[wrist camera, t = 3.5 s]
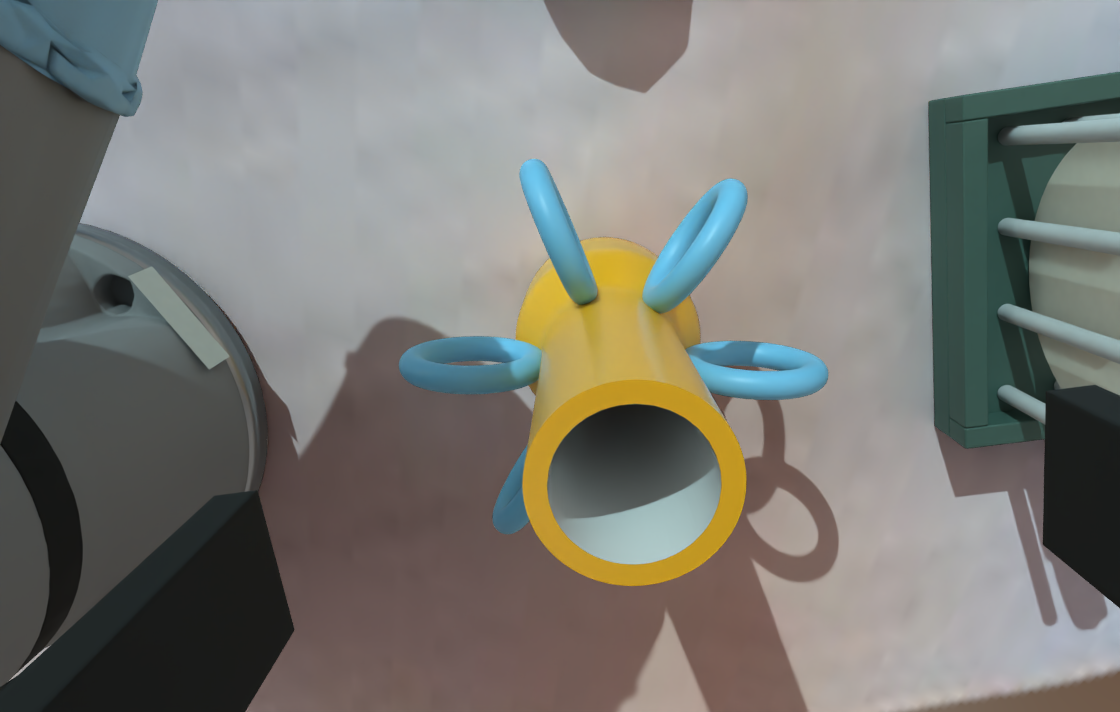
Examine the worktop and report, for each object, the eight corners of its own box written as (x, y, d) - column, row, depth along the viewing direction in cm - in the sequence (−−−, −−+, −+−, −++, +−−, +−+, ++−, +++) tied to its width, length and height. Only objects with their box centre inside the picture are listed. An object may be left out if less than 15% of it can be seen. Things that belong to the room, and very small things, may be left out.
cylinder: (626, 512, 30) (675, 846, 15) (402, 374, 29) (223, 595, 14) (817, 257, 27) (1095, 370, 13) (578, 92, 26) (584, 4, 11)
